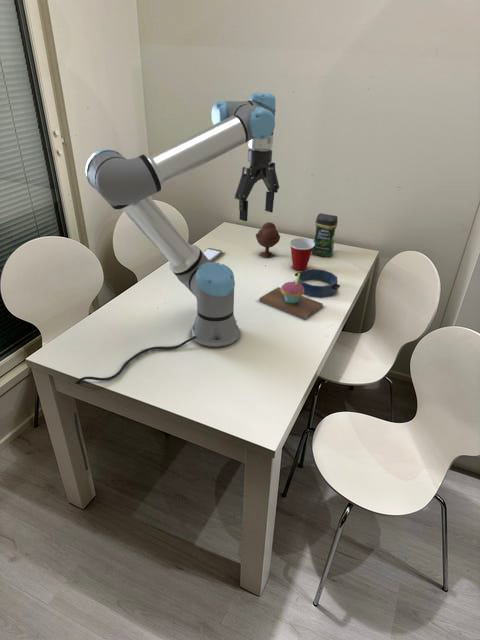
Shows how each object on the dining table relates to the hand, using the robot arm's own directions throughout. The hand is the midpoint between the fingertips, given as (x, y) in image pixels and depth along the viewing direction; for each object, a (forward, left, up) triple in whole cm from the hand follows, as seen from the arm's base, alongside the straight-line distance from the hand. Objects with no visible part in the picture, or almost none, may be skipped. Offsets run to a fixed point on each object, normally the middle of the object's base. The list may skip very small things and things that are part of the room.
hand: (256, 215), depth 152 cm
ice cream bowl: (+40, +23, -34) cm, 57 cm away
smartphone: (+20, +41, -33) cm, 56 cm away
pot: (+27, -11, -33) cm, 44 cm away
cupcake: (+9, -11, -32) cm, 35 cm away
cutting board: (+9, -11, -33) cm, 36 cm away
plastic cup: (+38, +4, -34) cm, 51 cm away
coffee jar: (+59, +5, -34) cm, 68 cm away
